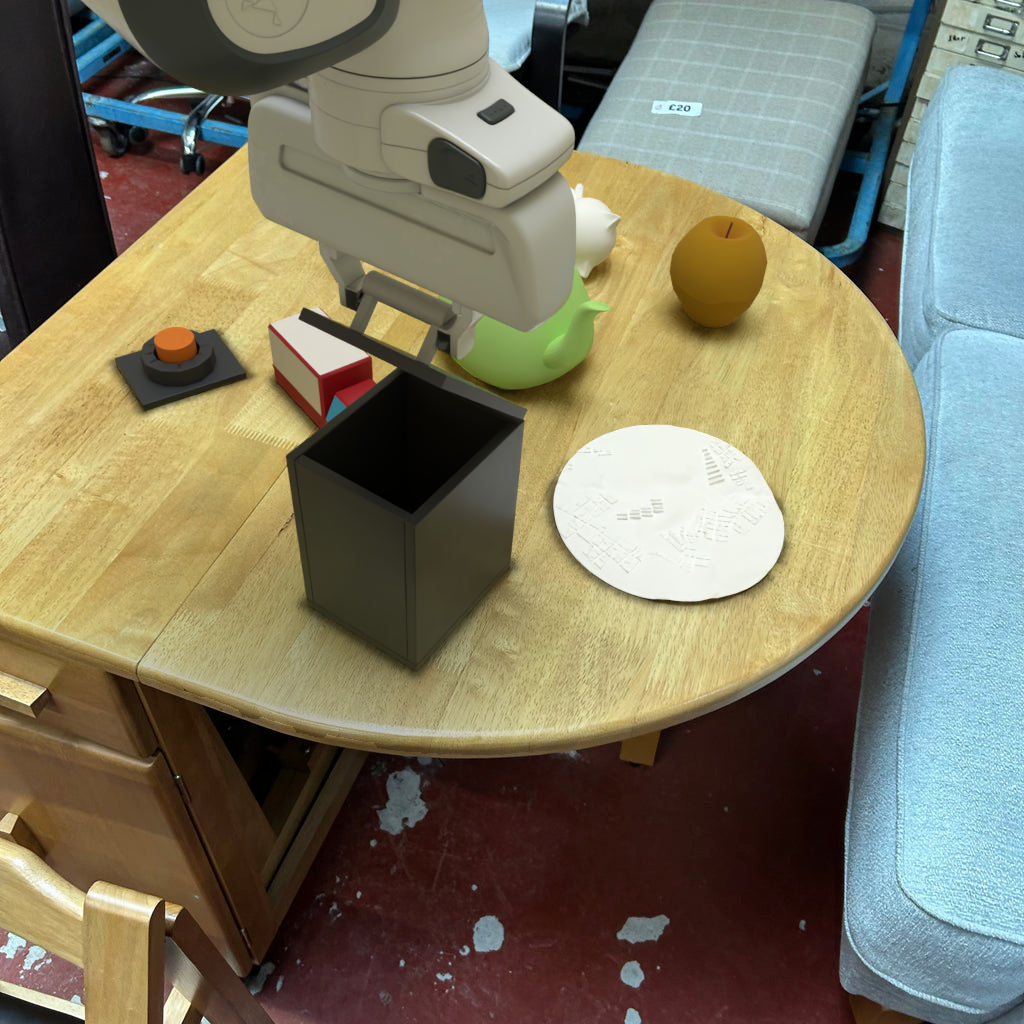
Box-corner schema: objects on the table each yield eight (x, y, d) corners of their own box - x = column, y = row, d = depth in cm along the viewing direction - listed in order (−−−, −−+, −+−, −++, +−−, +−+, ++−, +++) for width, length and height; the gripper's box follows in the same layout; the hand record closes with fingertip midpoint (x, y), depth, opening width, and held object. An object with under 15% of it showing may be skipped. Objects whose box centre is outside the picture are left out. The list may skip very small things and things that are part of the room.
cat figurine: (537, 156, 107) (603, 201, 100) (594, 187, 115) (659, 230, 108) (499, 227, 110) (561, 275, 103) (558, 252, 118) (618, 298, 111)
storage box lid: (440, 388, 53) (475, 312, 53) (297, 319, 57) (328, 247, 56) (523, 420, 66) (551, 359, 65) (401, 361, 69) (427, 303, 69)
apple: (643, 315, 103) (662, 217, 95) (695, 283, 109) (718, 187, 100) (716, 357, 99) (743, 257, 91) (767, 321, 104) (797, 224, 96)
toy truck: (356, 470, 84) (352, 412, 79) (274, 380, 92) (266, 323, 87) (408, 446, 87) (407, 389, 82) (324, 361, 94) (319, 304, 90)
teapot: (646, 394, 94) (671, 280, 85) (526, 450, 87) (539, 333, 78) (512, 286, 106) (520, 175, 96) (397, 329, 99) (394, 213, 89)
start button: (165, 369, 89) (161, 353, 87) (152, 348, 91) (148, 333, 89) (202, 357, 90) (199, 342, 89) (188, 337, 92) (185, 322, 91)
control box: (144, 410, 88) (138, 389, 86) (115, 363, 92) (109, 342, 90) (247, 377, 92) (243, 356, 90) (215, 333, 96) (211, 313, 94)
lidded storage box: (416, 672, 70) (414, 527, 59) (306, 604, 74) (284, 455, 62) (510, 566, 78) (525, 419, 66) (406, 510, 81) (403, 361, 70)
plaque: (658, 404, 92) (660, 393, 91) (828, 525, 83) (833, 513, 82) (505, 506, 83) (505, 494, 82) (677, 654, 74) (681, 643, 73)
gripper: (201, 63, 49) (243, 290, 59) (534, 189, 42) (517, 422, 52) (285, 27, 53) (311, 247, 63) (604, 138, 46) (575, 365, 56)
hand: (406, 328), depth 58 cm, fingers closed on storage box lid, 6 cm apart
